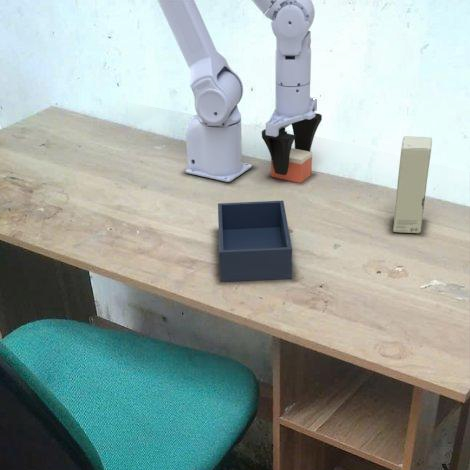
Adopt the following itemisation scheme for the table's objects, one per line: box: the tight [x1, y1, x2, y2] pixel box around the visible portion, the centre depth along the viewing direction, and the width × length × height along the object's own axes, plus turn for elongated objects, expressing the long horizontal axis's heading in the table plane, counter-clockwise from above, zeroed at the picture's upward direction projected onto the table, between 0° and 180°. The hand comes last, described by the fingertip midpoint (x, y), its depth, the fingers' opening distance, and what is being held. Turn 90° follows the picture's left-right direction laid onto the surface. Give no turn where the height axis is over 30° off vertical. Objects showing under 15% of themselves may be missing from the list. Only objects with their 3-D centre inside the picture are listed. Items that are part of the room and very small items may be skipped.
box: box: [392, 135, 433, 234], centre depth 121 cm, size 5×4×13 cm
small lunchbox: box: [270, 147, 313, 184], centre depth 140 cm, size 6×4×4 cm, turn 58°
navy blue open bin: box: [217, 200, 293, 283], centre depth 119 cm, size 16×10×5 cm, turn 2°
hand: (291, 165), depth 140 cm, fingers open, 7 cm apart
